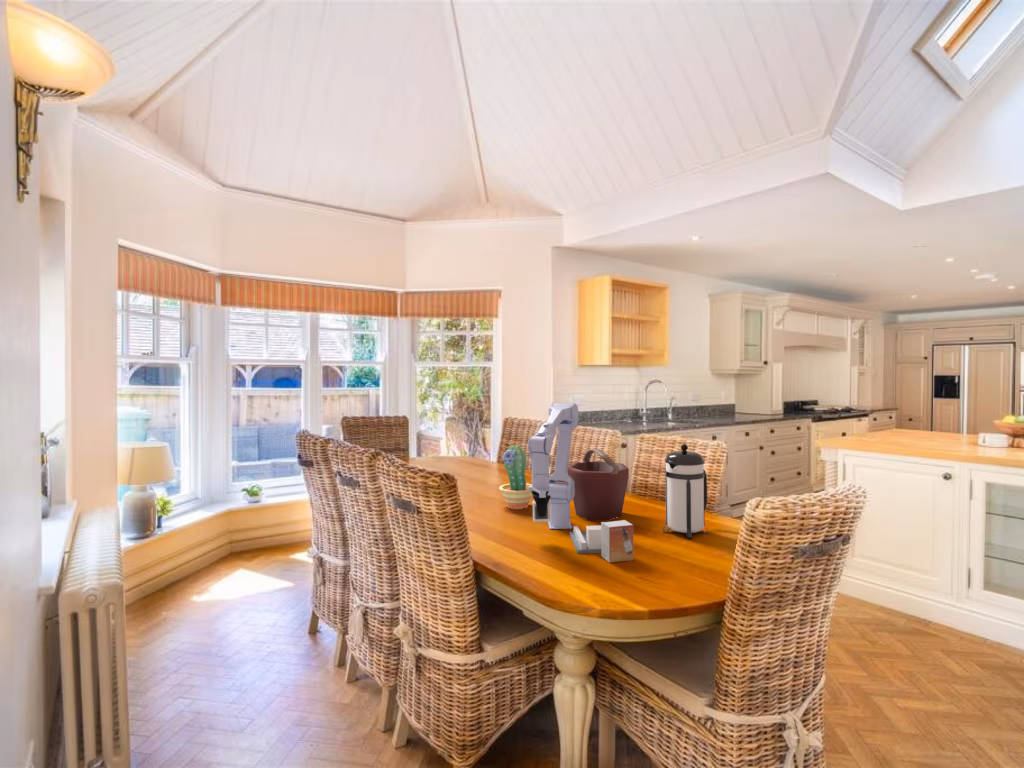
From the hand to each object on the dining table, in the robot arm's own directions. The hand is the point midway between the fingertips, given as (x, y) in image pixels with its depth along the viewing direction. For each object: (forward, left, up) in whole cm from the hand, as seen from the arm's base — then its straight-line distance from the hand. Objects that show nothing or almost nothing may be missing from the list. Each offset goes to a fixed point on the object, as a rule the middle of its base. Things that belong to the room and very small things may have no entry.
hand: (541, 514), depth 171 cm
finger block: (0, 0, -2) cm, 2 cm away
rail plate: (+3, +16, -9) cm, 19 cm away
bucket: (-29, +24, -9) cm, 38 cm away
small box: (+17, +21, -9) cm, 29 cm away
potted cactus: (-44, -6, -9) cm, 45 cm away
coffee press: (-6, +50, -9) cm, 51 cm away
